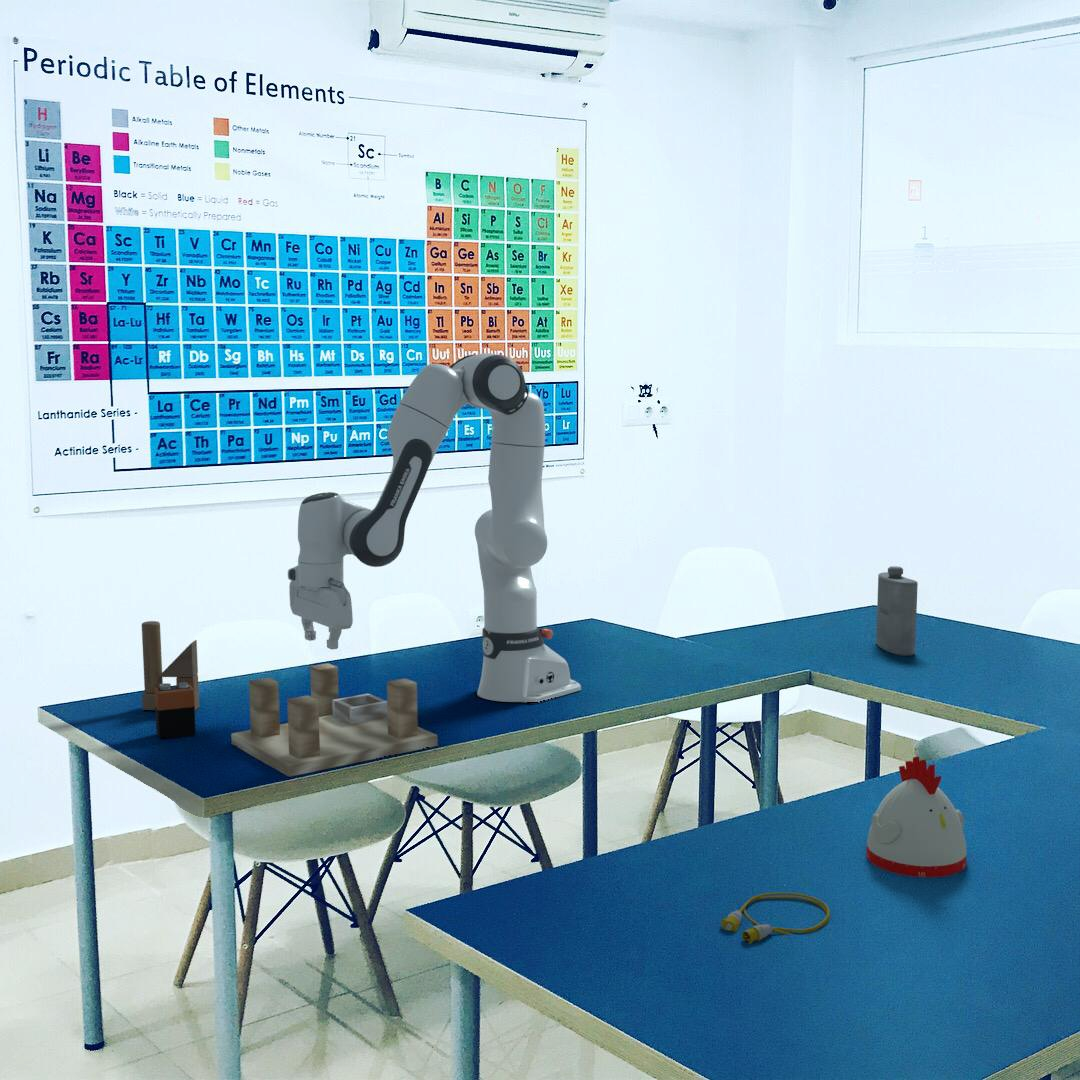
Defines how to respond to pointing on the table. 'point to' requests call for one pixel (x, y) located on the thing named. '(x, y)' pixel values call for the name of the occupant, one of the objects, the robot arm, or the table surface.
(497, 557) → the robot arm
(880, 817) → the kitchen timer
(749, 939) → the extension cord
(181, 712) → the battery
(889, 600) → the flask
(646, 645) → the table surface
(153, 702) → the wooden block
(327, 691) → the oak leg
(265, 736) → the stone peg stand
